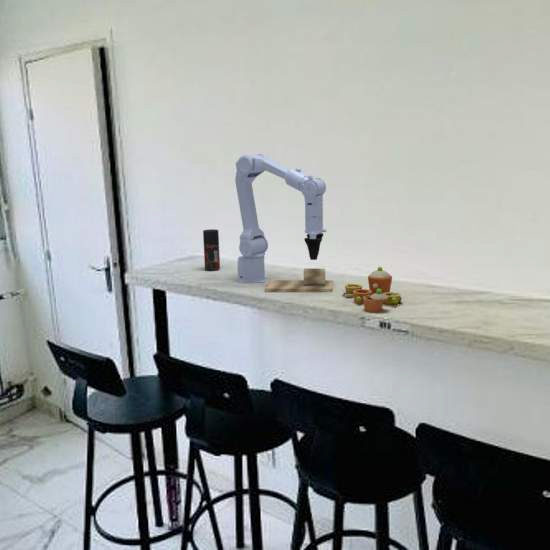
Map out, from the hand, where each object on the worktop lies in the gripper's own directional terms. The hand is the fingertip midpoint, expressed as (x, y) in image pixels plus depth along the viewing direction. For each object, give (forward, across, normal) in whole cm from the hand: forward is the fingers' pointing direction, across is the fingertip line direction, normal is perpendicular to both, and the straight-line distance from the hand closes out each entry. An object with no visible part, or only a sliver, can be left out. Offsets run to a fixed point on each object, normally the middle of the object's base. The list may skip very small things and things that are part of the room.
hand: (314, 257), depth 199 cm
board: (+10, 0, +5) cm, 12 cm away
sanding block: (+9, 0, 0) cm, 9 cm away
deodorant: (+11, +31, +42) cm, 53 cm away
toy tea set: (+11, -18, -19) cm, 28 cm away
